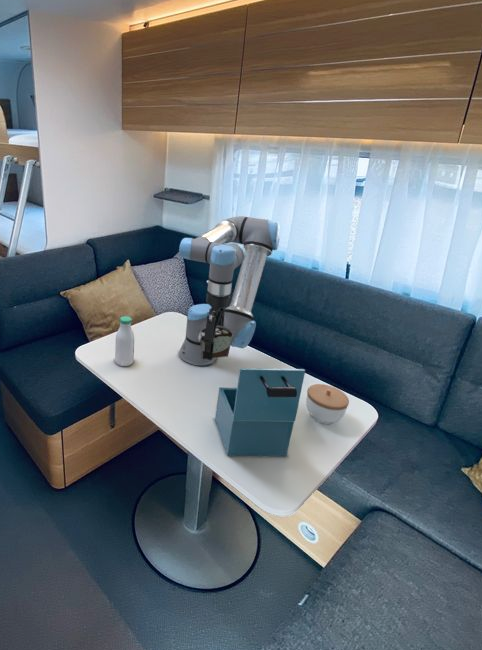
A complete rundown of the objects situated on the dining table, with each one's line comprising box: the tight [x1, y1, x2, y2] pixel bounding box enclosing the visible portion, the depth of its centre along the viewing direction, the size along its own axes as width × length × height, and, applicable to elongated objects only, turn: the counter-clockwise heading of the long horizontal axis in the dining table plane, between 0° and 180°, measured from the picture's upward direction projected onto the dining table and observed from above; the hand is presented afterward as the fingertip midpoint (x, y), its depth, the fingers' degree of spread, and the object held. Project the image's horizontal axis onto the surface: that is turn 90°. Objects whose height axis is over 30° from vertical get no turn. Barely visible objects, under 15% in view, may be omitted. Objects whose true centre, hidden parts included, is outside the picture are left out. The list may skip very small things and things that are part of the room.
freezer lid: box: [233, 367, 306, 422], centre depth 112 cm, size 17×18×9 cm
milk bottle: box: [114, 315, 135, 367], centre depth 166 cm, size 8×8×20 cm
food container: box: [198, 325, 234, 360], centre depth 142 cm, size 12×6×10 cm, turn 99°
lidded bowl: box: [305, 383, 350, 425], centre depth 139 cm, size 13×13×11 cm
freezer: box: [214, 387, 295, 457], centre depth 128 cm, size 16×18×13 cm
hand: (211, 352), depth 142 cm, fingers closed on food container, 8 cm apart
